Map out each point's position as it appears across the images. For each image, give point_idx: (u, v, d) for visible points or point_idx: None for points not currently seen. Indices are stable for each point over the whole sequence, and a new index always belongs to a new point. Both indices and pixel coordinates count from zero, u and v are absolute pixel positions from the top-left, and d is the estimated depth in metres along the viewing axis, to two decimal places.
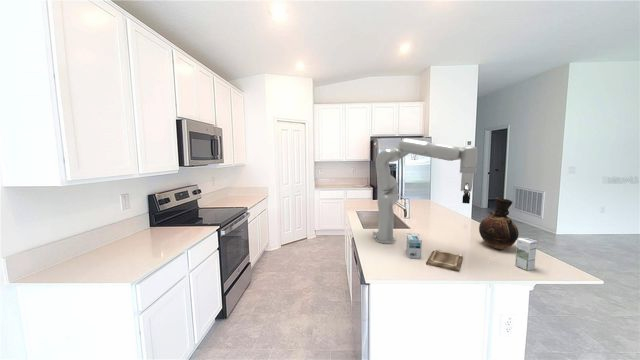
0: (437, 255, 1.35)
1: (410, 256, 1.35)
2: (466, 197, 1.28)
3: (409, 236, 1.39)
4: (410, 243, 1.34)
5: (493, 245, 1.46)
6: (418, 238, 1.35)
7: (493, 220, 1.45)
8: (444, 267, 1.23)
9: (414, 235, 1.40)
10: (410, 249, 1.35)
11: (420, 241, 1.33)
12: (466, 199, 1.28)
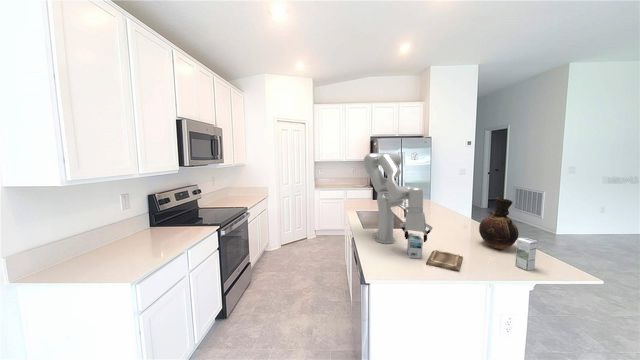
0: (437, 255, 1.35)
1: (410, 256, 1.35)
2: (426, 235, 1.34)
3: (410, 236, 1.38)
4: (411, 243, 1.34)
5: (493, 245, 1.46)
6: (419, 238, 1.35)
7: (493, 220, 1.45)
8: (444, 267, 1.23)
9: (415, 235, 1.40)
10: (411, 249, 1.34)
11: (421, 241, 1.33)
12: (426, 237, 1.34)
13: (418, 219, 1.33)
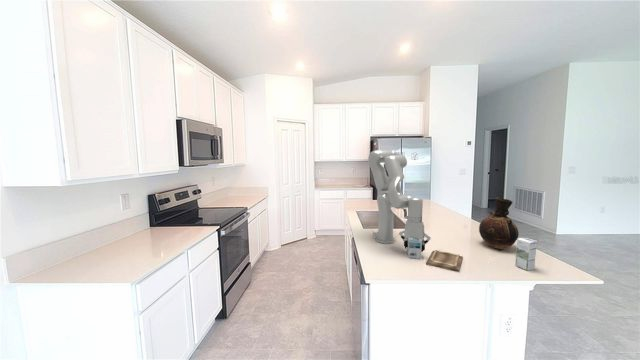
0: (437, 255, 1.35)
1: (410, 256, 1.35)
2: (424, 245, 1.36)
3: None
4: (410, 243, 1.34)
5: (493, 245, 1.46)
6: None
7: (493, 220, 1.45)
8: (444, 267, 1.23)
9: None
10: (410, 249, 1.35)
11: (420, 241, 1.33)
12: (424, 247, 1.36)
13: (417, 229, 1.34)
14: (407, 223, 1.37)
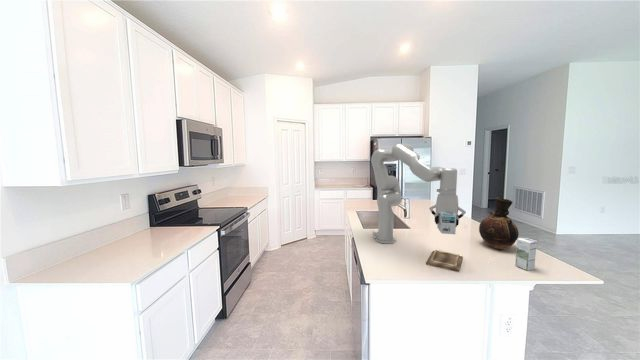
0: (437, 255, 1.35)
1: (443, 231, 1.24)
2: (458, 220, 1.25)
3: None
4: (443, 217, 1.24)
5: (493, 245, 1.46)
6: None
7: (493, 220, 1.45)
8: (444, 267, 1.23)
9: None
10: (443, 224, 1.24)
11: (454, 215, 1.22)
12: (458, 222, 1.25)
13: (451, 202, 1.23)
14: (439, 196, 1.27)
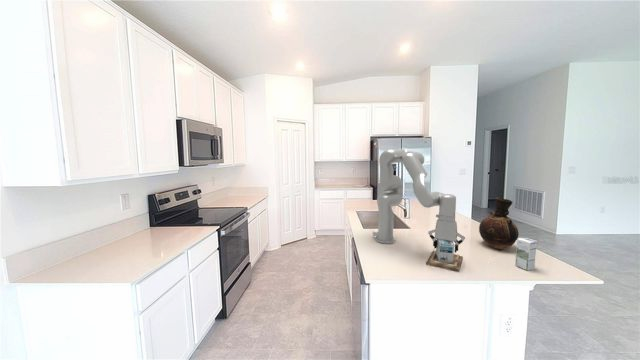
0: None
1: (440, 260, 1.26)
2: None
3: (440, 239, 1.29)
4: (441, 247, 1.25)
5: (493, 245, 1.46)
6: (450, 242, 1.25)
7: (493, 220, 1.45)
8: (444, 267, 1.23)
9: None
10: (441, 253, 1.26)
11: (452, 245, 1.23)
12: None
13: (450, 228, 1.25)
14: (438, 222, 1.28)
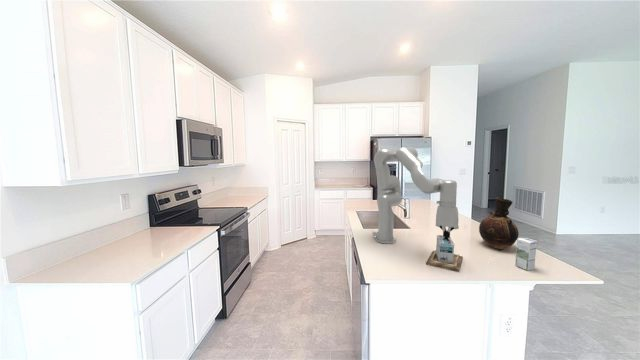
0: None
1: (440, 260, 1.26)
2: (449, 232, 1.28)
3: (440, 239, 1.29)
4: (441, 247, 1.25)
5: (493, 245, 1.46)
6: (450, 242, 1.25)
7: (493, 220, 1.45)
8: (444, 267, 1.23)
9: None
10: (441, 253, 1.26)
11: (452, 245, 1.23)
12: (449, 234, 1.28)
13: (451, 214, 1.24)
14: (439, 208, 1.27)
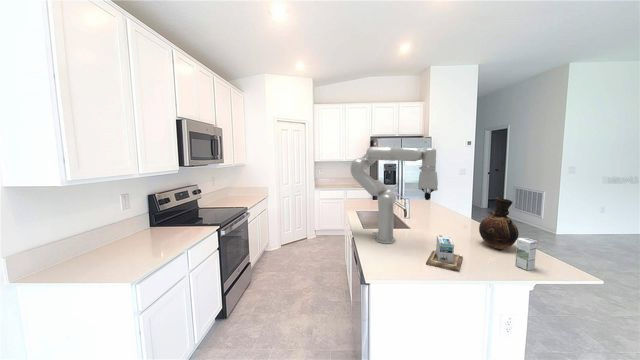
0: None
1: (440, 260, 1.26)
2: (430, 194, 1.47)
3: (440, 239, 1.29)
4: (441, 247, 1.25)
5: (493, 245, 1.46)
6: (450, 242, 1.25)
7: (493, 220, 1.45)
8: (444, 267, 1.23)
9: (445, 237, 1.30)
10: (441, 253, 1.26)
11: (452, 245, 1.23)
12: None
13: (431, 177, 1.43)
14: (421, 173, 1.47)
